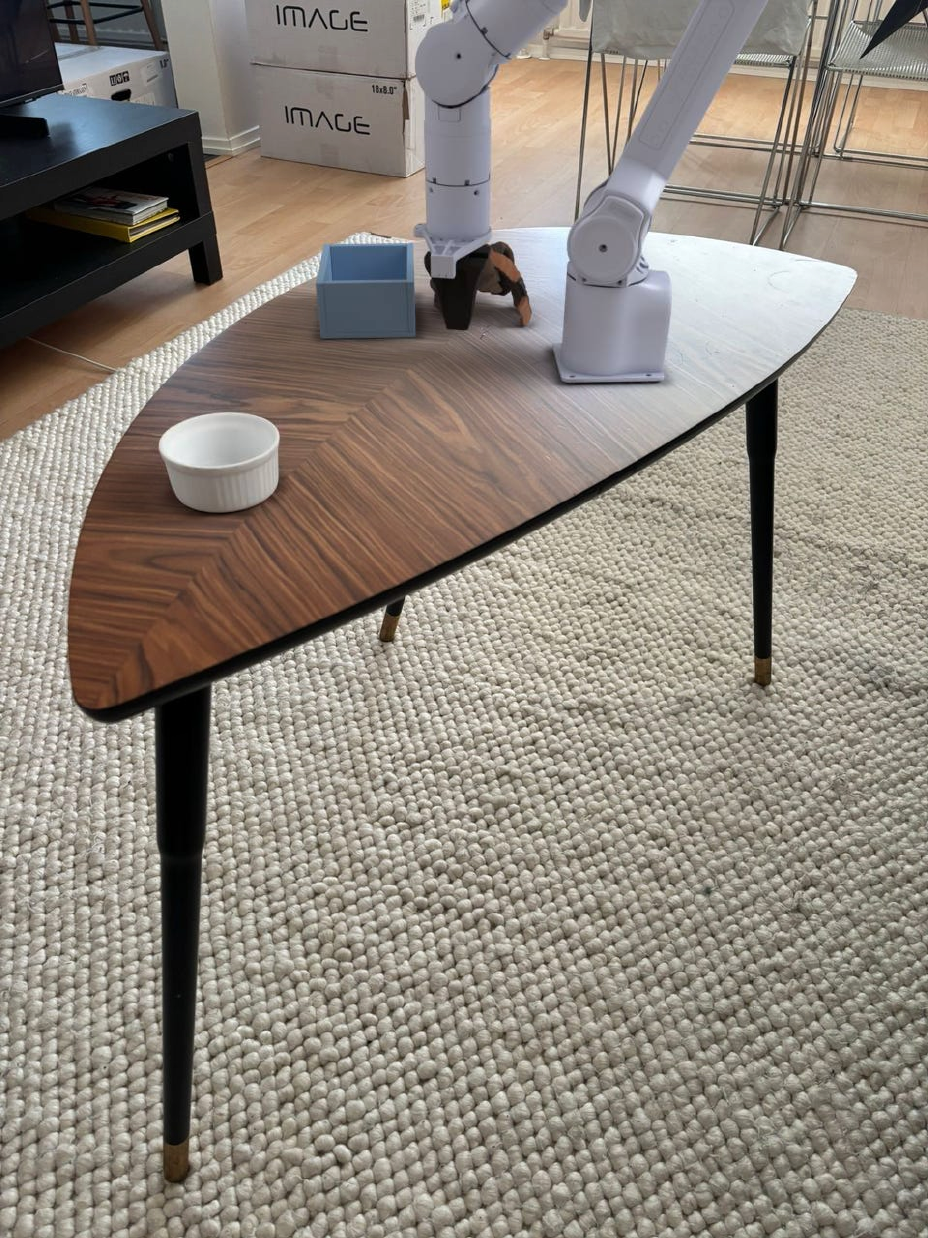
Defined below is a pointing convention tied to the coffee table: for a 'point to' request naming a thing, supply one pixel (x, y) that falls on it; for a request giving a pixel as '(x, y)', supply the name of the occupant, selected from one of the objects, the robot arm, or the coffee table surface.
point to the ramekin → (222, 460)
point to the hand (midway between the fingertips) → (458, 326)
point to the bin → (366, 291)
